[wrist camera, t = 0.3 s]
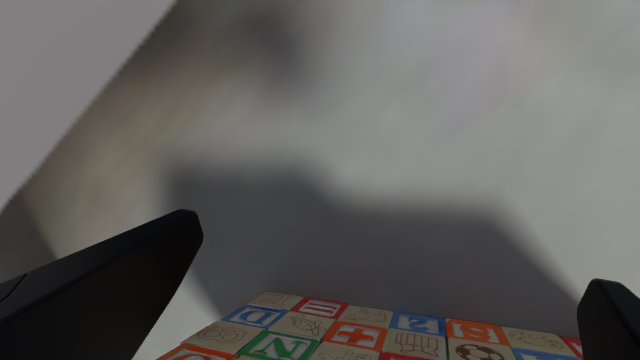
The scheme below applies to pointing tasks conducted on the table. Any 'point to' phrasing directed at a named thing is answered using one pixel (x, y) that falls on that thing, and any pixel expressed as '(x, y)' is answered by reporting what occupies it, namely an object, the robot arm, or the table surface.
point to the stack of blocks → (360, 335)
